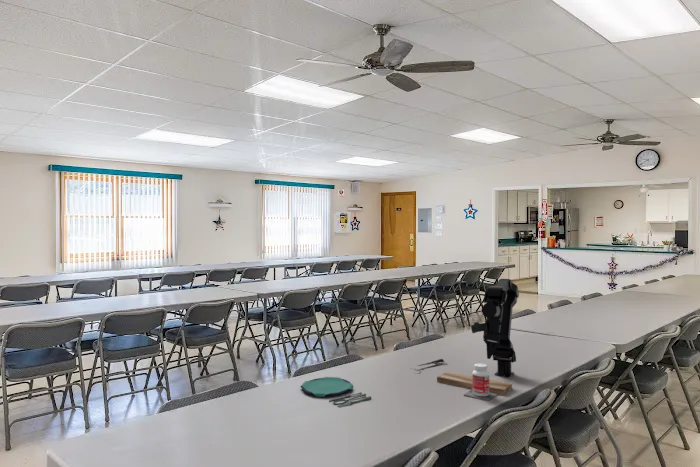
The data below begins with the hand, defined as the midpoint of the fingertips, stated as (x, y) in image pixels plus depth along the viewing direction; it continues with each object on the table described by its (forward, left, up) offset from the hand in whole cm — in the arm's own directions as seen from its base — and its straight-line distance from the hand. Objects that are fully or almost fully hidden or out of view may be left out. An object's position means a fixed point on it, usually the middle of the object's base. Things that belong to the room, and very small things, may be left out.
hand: (488, 357), depth 192 cm
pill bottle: (+11, +1, -12) cm, 16 cm away
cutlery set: (+41, -47, -12) cm, 63 cm away
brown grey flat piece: (+6, -6, -12) cm, 14 cm away
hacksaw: (-11, -33, -12) cm, 37 cm away
